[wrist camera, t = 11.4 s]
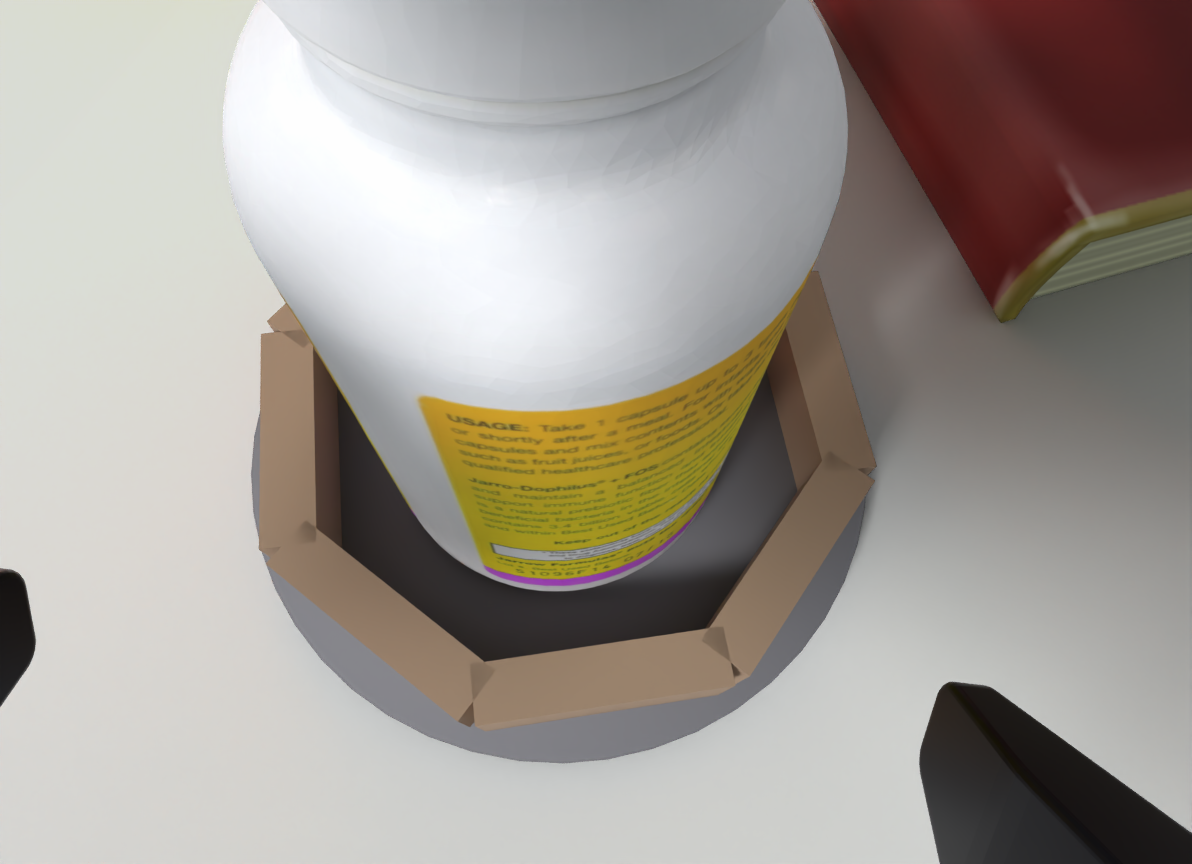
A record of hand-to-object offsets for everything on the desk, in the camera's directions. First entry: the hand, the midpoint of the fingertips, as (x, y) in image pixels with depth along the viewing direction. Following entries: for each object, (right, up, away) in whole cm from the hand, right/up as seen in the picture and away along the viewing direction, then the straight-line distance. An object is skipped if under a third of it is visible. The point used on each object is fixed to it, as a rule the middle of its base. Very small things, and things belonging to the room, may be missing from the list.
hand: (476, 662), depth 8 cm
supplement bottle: (0, +2, +10) cm, 10 cm away
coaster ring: (0, +2, +10) cm, 10 cm away
